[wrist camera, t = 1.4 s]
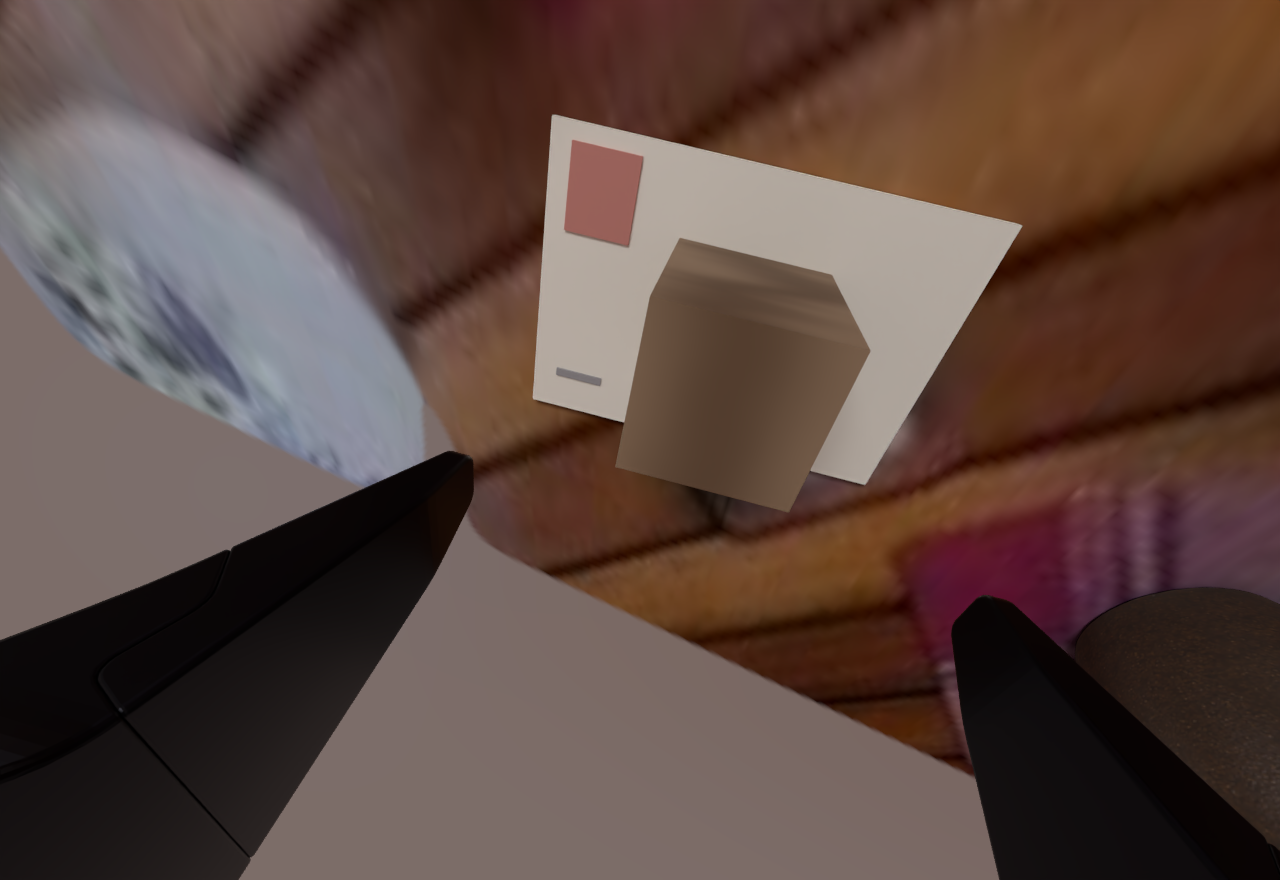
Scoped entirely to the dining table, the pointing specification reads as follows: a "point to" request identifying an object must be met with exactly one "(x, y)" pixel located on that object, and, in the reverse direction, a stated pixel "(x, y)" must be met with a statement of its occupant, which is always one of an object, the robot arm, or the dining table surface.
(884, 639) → the dining table surface
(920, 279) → the letter
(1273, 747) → the plant pot
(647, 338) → the walnut block
